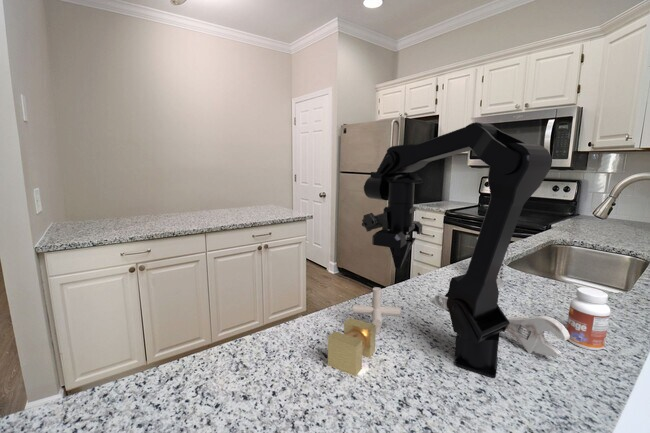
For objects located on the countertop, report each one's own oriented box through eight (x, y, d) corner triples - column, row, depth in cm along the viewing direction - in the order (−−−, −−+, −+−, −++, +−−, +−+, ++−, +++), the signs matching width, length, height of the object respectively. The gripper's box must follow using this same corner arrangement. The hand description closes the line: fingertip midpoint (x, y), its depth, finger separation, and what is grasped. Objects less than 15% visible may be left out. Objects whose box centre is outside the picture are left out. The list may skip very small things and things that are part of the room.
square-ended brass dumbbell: (349, 343, 62) (349, 317, 61) (374, 351, 59) (375, 325, 58) (327, 365, 55) (328, 337, 54) (355, 376, 52) (356, 346, 51)
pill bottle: (557, 334, 66) (564, 285, 64) (586, 334, 66) (594, 285, 64) (581, 351, 60) (589, 298, 58) (613, 351, 60) (622, 298, 58)
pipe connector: (401, 347, 61) (404, 301, 59) (351, 344, 62) (352, 298, 60) (397, 320, 71) (398, 280, 69) (353, 318, 72) (354, 278, 70)
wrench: (439, 313, 81) (570, 366, 54) (434, 315, 80) (564, 369, 53) (438, 283, 81) (570, 322, 54) (433, 284, 80) (564, 325, 53)
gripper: (381, 197, 82) (380, 253, 84) (350, 204, 66) (349, 273, 68) (424, 199, 76) (421, 260, 78) (401, 208, 60) (398, 283, 63)
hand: (397, 268), depth 72 cm, fingers closed
